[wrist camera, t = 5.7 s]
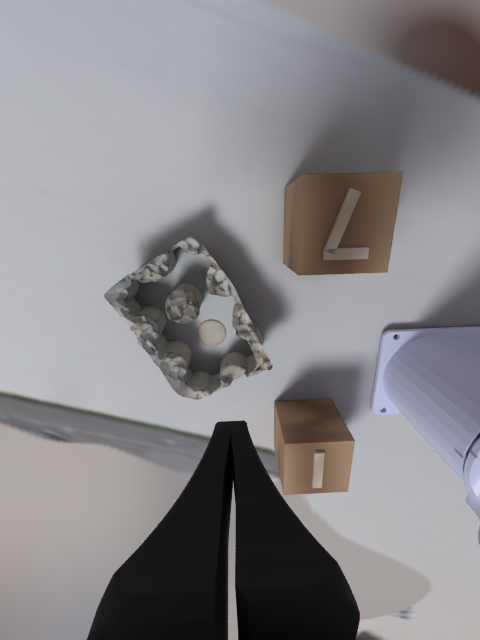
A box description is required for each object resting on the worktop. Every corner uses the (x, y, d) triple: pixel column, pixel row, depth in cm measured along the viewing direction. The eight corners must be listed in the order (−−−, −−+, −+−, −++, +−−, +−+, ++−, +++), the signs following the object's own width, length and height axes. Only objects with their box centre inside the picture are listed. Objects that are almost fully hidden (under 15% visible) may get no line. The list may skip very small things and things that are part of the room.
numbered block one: (330, 397, 24) (355, 442, 19) (326, 442, 25) (348, 494, 21) (274, 400, 24) (285, 446, 19) (274, 444, 25) (283, 497, 20)
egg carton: (271, 347, 22) (280, 373, 18) (194, 385, 23) (186, 417, 19) (205, 227, 19) (198, 229, 15) (118, 278, 20) (90, 292, 16)
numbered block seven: (358, 185, 18) (405, 170, 13) (350, 260, 20) (389, 273, 15) (284, 187, 18) (304, 173, 13) (282, 263, 20) (299, 276, 15)
